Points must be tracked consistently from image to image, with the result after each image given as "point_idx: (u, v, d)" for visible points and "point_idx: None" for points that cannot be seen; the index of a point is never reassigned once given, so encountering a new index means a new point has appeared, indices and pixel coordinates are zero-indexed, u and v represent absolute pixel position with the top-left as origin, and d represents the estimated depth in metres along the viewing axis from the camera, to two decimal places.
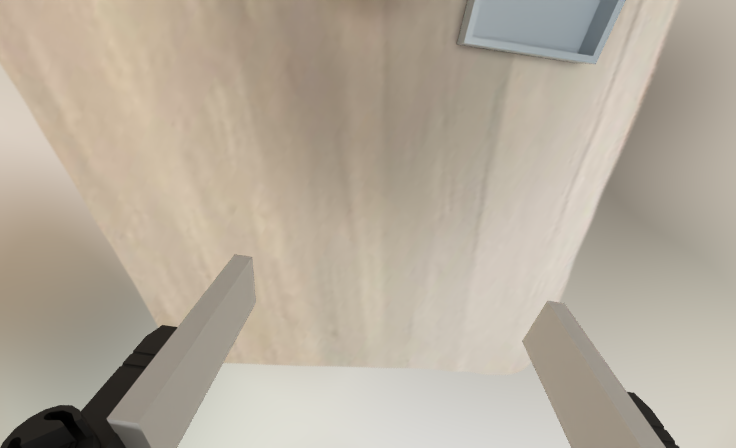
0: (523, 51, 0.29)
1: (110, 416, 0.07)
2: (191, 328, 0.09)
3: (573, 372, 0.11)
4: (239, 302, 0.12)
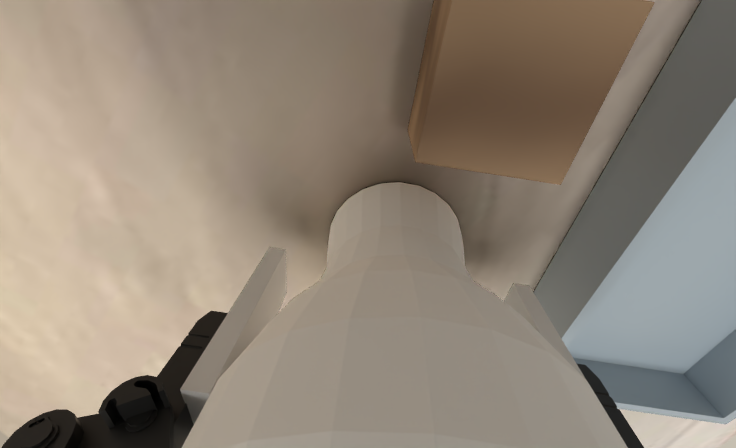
0: None
1: (183, 387, 0.08)
2: (241, 313, 0.10)
3: None
4: (275, 291, 0.13)
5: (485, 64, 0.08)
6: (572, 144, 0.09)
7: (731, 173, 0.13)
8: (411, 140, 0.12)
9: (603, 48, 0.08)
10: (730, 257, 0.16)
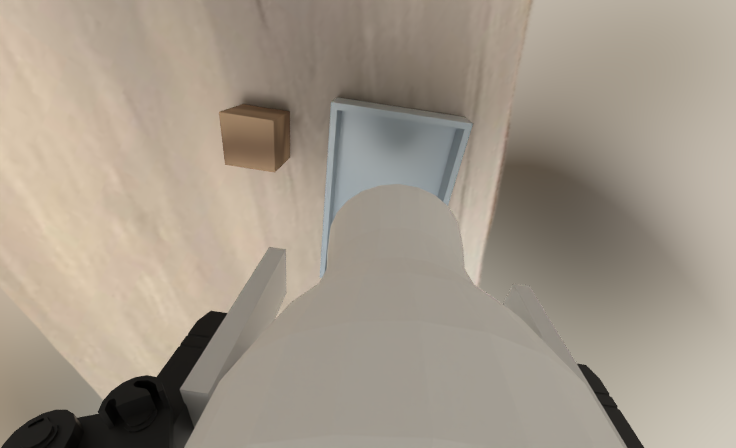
0: None
1: (182, 387, 0.08)
2: (240, 312, 0.10)
3: None
4: (275, 291, 0.13)
5: (235, 135, 0.27)
6: (271, 159, 0.28)
7: (376, 169, 0.33)
8: None
9: (266, 131, 0.27)
10: None
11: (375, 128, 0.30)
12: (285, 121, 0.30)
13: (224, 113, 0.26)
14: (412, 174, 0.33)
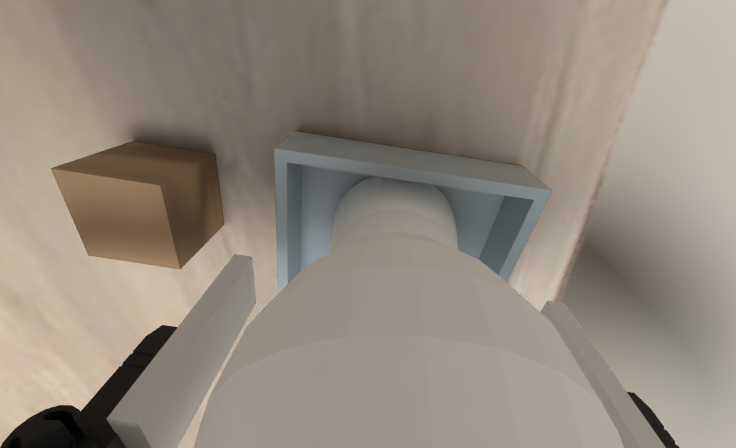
0: None
1: (110, 416, 0.07)
2: (191, 328, 0.09)
3: None
4: (239, 302, 0.12)
5: (94, 209, 0.14)
6: (170, 248, 0.15)
7: None
8: None
9: (150, 204, 0.14)
10: None
11: None
12: (203, 174, 0.17)
13: (62, 171, 0.13)
14: None
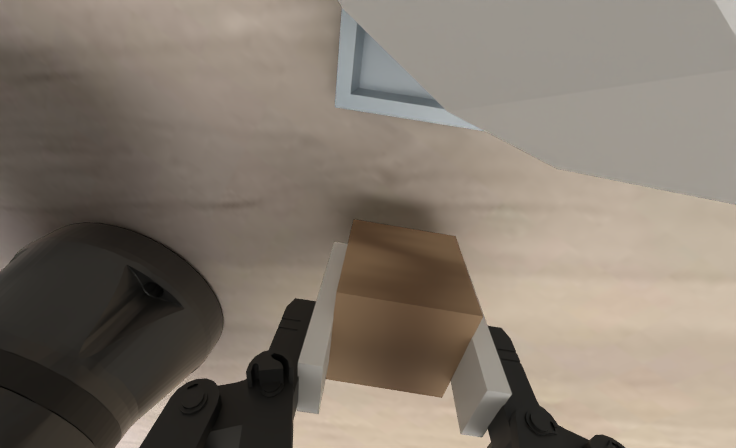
0: None
1: (300, 361, 0.09)
2: (328, 299, 0.11)
3: None
4: None
5: (375, 367, 0.12)
6: (441, 315, 0.10)
7: None
8: None
9: (365, 312, 0.10)
10: None
11: None
12: (366, 239, 0.13)
13: (327, 371, 0.12)
14: None
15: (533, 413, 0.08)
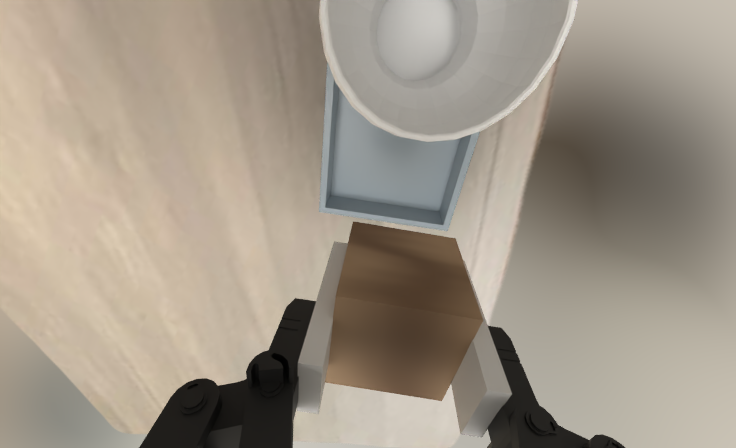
0: (377, 219, 0.29)
1: (300, 361, 0.09)
2: (328, 299, 0.11)
3: None
4: None
5: (374, 370, 0.12)
6: (441, 319, 0.10)
7: None
8: None
9: (365, 315, 0.10)
10: None
11: None
12: (365, 241, 0.13)
13: (326, 375, 0.12)
14: None
15: (533, 413, 0.08)
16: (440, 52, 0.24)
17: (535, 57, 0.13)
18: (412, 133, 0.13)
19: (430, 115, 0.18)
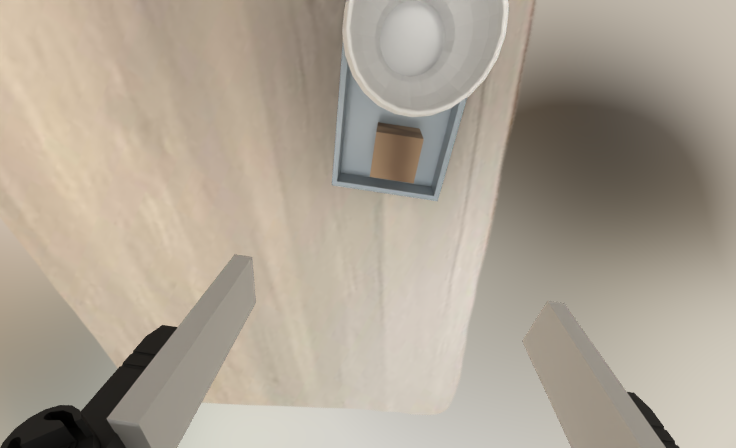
0: (379, 191, 0.36)
1: (110, 416, 0.07)
2: (191, 328, 0.09)
3: (573, 372, 0.11)
4: (239, 302, 0.12)
5: (388, 168, 0.32)
6: (410, 139, 0.30)
7: None
8: None
9: (385, 140, 0.30)
10: None
11: None
12: (383, 125, 0.33)
13: (370, 172, 0.32)
14: None
15: None
16: (429, 54, 0.30)
17: (489, 58, 0.20)
18: (405, 109, 0.19)
19: (420, 101, 0.24)
